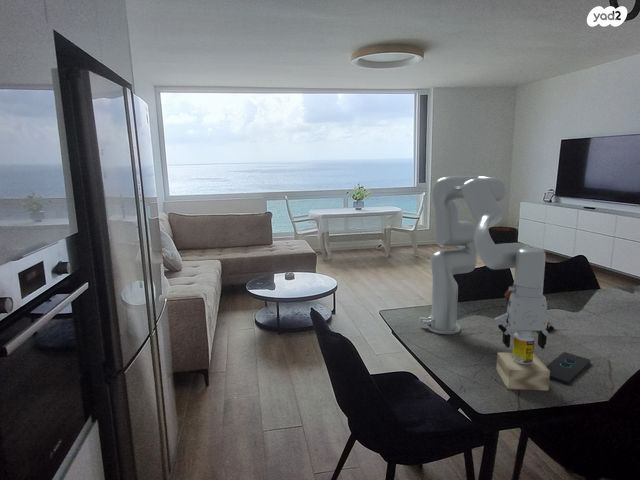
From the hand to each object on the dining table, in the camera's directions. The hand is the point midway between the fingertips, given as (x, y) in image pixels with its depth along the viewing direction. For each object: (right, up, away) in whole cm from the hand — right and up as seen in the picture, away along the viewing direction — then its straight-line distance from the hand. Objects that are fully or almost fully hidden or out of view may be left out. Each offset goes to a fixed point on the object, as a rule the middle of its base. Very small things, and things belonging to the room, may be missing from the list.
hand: (523, 346), depth 120 cm
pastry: (+27, -4, +39) cm, 48 cm away
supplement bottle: (0, -5, +1) cm, 5 cm away
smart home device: (+17, -10, +8) cm, 21 cm away
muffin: (+27, 0, +59) cm, 65 cm away
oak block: (0, -11, +2) cm, 11 cm away
